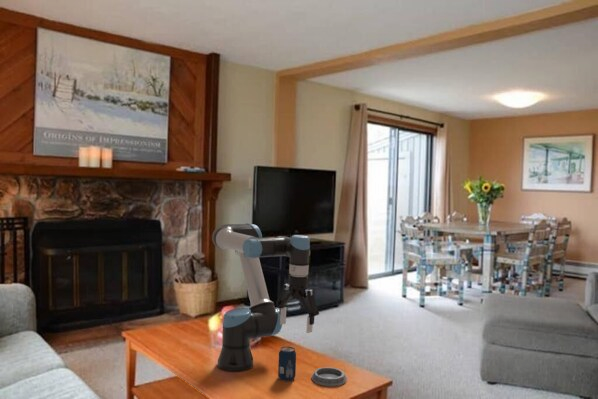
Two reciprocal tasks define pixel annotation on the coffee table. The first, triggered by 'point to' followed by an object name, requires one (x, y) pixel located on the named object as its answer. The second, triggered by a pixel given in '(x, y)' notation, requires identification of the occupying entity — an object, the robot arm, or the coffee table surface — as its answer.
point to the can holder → (329, 377)
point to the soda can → (287, 364)
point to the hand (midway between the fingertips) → (295, 328)
